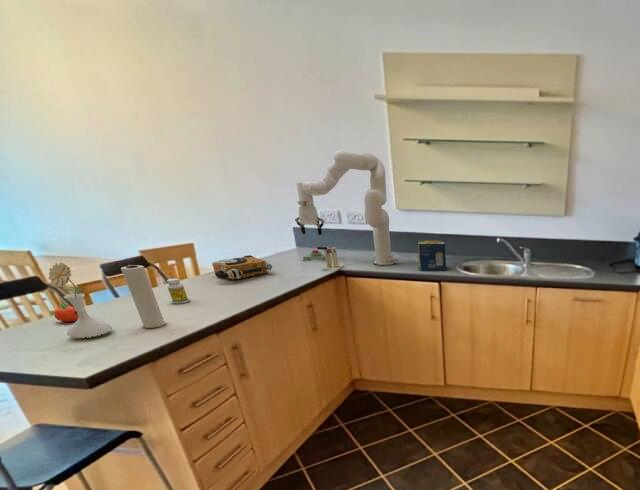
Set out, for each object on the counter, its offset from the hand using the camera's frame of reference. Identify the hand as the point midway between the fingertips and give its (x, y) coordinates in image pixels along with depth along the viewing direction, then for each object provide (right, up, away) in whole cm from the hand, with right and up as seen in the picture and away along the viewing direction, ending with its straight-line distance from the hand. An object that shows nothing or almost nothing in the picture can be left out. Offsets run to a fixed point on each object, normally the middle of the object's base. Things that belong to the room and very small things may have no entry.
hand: (312, 234), depth 252 cm
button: (-1, -9, +7) cm, 12 cm away
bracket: (+18, -24, -12) cm, 33 cm away
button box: (-1, -12, +9) cm, 15 cm away
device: (-20, -35, -34) cm, 53 cm away
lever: (+18, -18, -21) cm, 33 cm away
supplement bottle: (-20, -56, -75) cm, 96 cm away
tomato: (-41, -68, -99) cm, 127 cm away
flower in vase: (-22, -75, -110) cm, 135 cm away
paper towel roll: (-9, -70, -100) cm, 122 cm away
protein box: (+74, -22, -3) cm, 78 cm away
